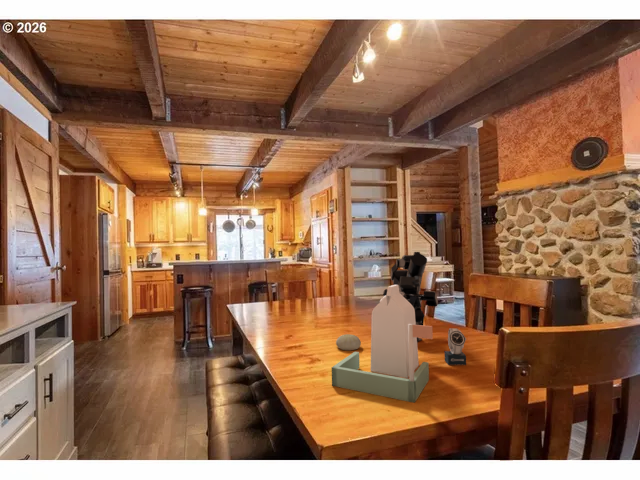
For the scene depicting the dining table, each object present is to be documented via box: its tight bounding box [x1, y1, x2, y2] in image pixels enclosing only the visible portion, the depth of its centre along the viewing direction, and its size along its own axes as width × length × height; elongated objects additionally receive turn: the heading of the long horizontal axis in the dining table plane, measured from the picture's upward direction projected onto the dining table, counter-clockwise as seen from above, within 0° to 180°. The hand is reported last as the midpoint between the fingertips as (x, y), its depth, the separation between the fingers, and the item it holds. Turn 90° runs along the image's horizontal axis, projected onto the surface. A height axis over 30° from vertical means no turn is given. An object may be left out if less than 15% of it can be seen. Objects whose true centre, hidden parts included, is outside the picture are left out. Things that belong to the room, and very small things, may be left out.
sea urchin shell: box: [335, 333, 362, 351], centre depth 131 cm, size 9×8×8 cm
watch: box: [444, 328, 467, 366], centre depth 113 cm, size 6×8×11 cm
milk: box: [370, 284, 420, 379], centre depth 109 cm, size 12×12×26 cm
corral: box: [331, 324, 434, 403], centre depth 97 cm, size 16×28×19 cm, turn 60°
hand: (405, 316), depth 120 cm, fingers closed
